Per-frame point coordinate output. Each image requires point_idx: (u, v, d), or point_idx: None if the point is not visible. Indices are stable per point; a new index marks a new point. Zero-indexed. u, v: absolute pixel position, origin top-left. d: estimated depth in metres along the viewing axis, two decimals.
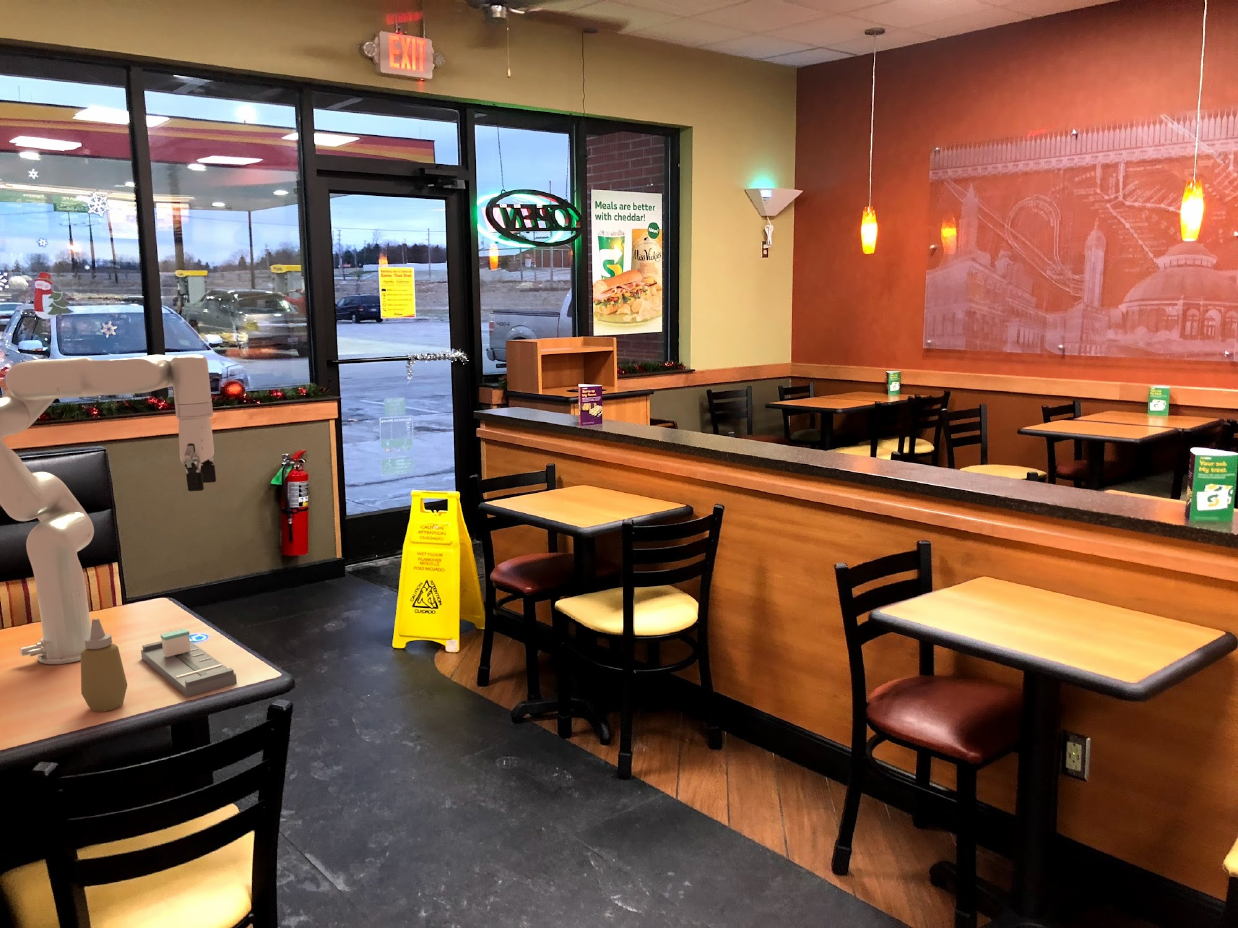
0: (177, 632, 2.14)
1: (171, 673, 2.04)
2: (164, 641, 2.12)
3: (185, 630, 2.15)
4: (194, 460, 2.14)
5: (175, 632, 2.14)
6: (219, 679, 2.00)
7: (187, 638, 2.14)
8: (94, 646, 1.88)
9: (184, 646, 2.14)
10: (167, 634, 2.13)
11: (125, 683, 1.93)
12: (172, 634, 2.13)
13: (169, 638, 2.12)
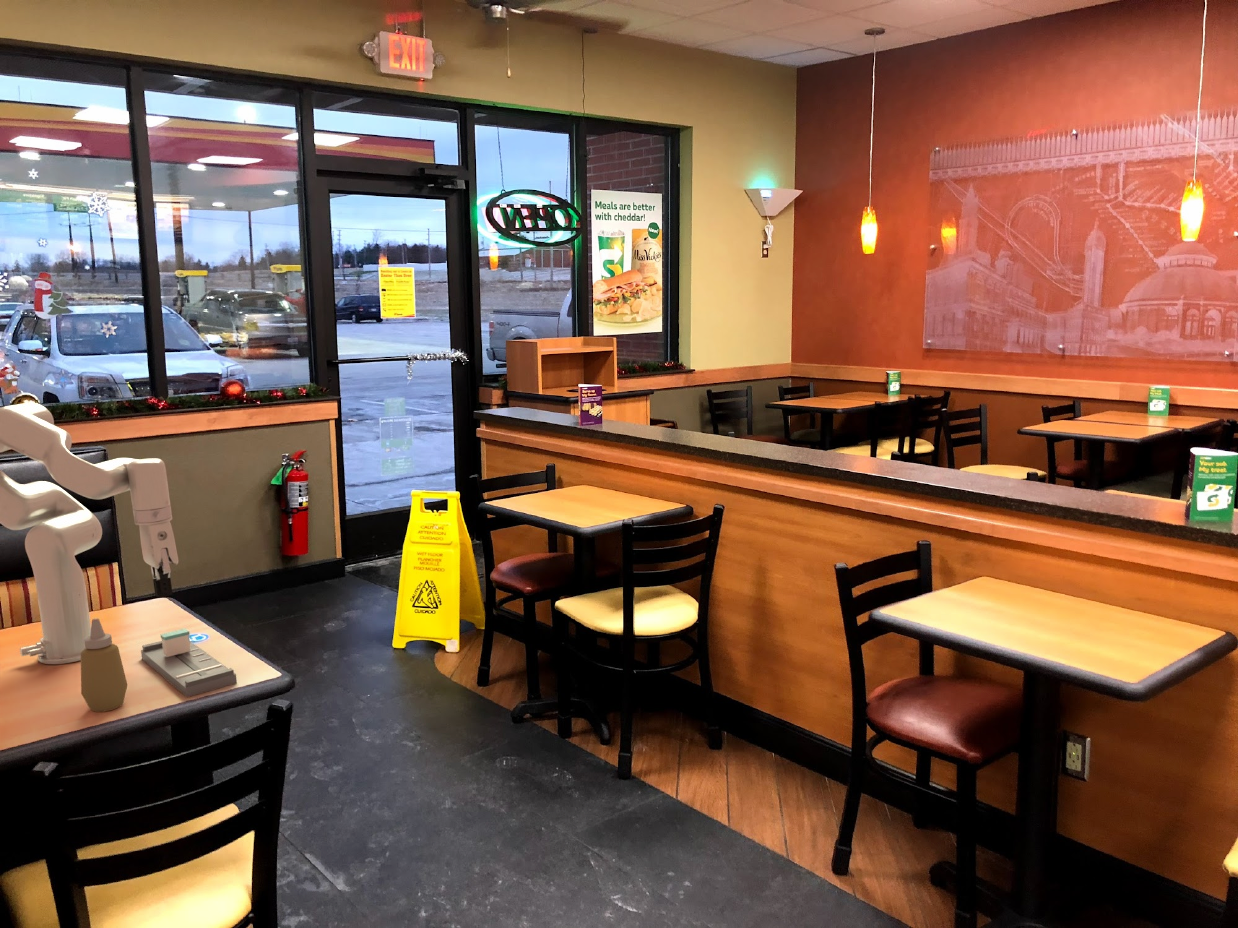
0: (177, 632, 2.14)
1: (171, 673, 2.04)
2: (164, 641, 2.12)
3: (185, 630, 2.15)
4: None
5: (175, 632, 2.14)
6: (219, 679, 2.00)
7: (187, 638, 2.14)
8: (94, 646, 1.88)
9: (184, 646, 2.14)
10: (167, 634, 2.13)
11: (125, 683, 1.93)
12: (172, 634, 2.13)
13: (169, 638, 2.12)
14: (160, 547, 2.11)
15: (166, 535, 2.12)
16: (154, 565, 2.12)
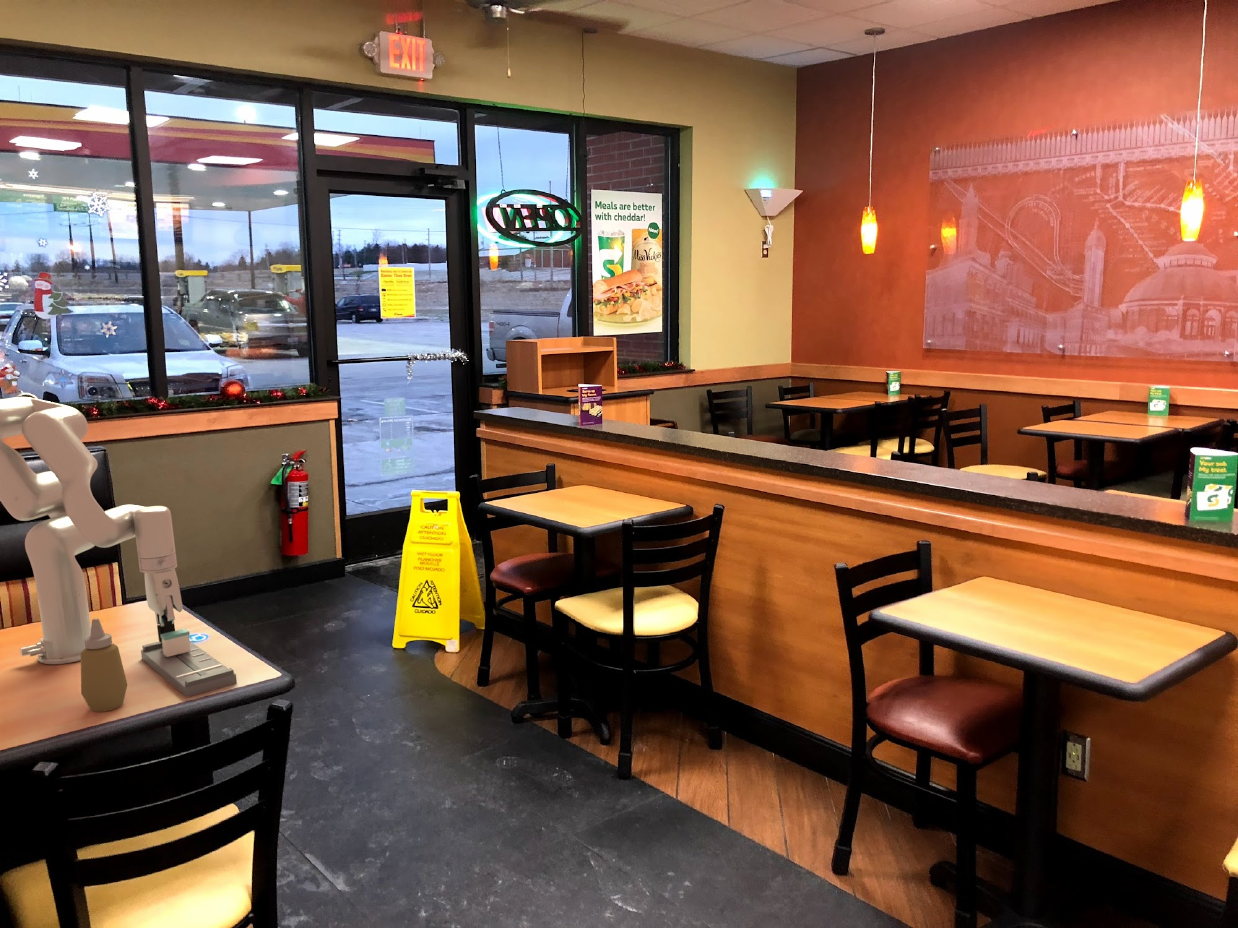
0: (177, 632, 2.14)
1: (171, 673, 2.04)
2: (164, 641, 2.12)
3: (185, 630, 2.15)
4: None
5: (175, 632, 2.14)
6: (219, 679, 2.00)
7: (187, 638, 2.14)
8: (94, 646, 1.88)
9: (184, 646, 2.14)
10: (167, 634, 2.13)
11: (125, 683, 1.93)
12: (172, 634, 2.13)
13: (169, 638, 2.12)
14: (165, 595, 2.13)
15: (171, 583, 2.14)
16: (158, 612, 2.14)
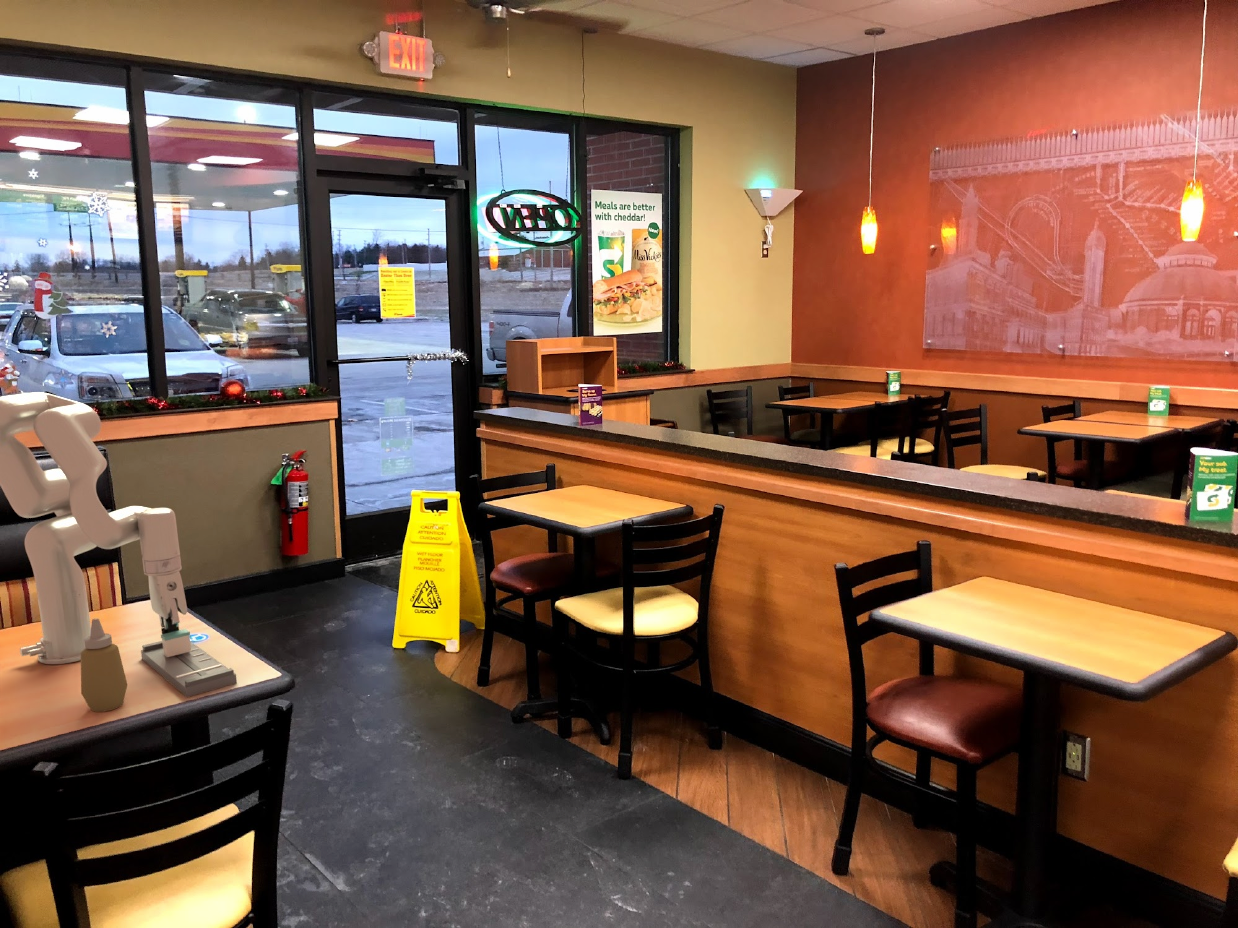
0: (178, 632, 2.14)
1: (171, 673, 2.04)
2: (164, 641, 2.12)
3: (185, 630, 2.15)
4: None
5: (175, 632, 2.14)
6: (219, 679, 2.00)
7: (187, 638, 2.14)
8: (94, 646, 1.88)
9: (185, 646, 2.14)
10: (167, 634, 2.13)
11: (125, 683, 1.93)
12: (172, 634, 2.13)
13: (170, 639, 2.12)
14: (169, 598, 2.11)
15: (175, 585, 2.12)
16: (163, 615, 2.12)
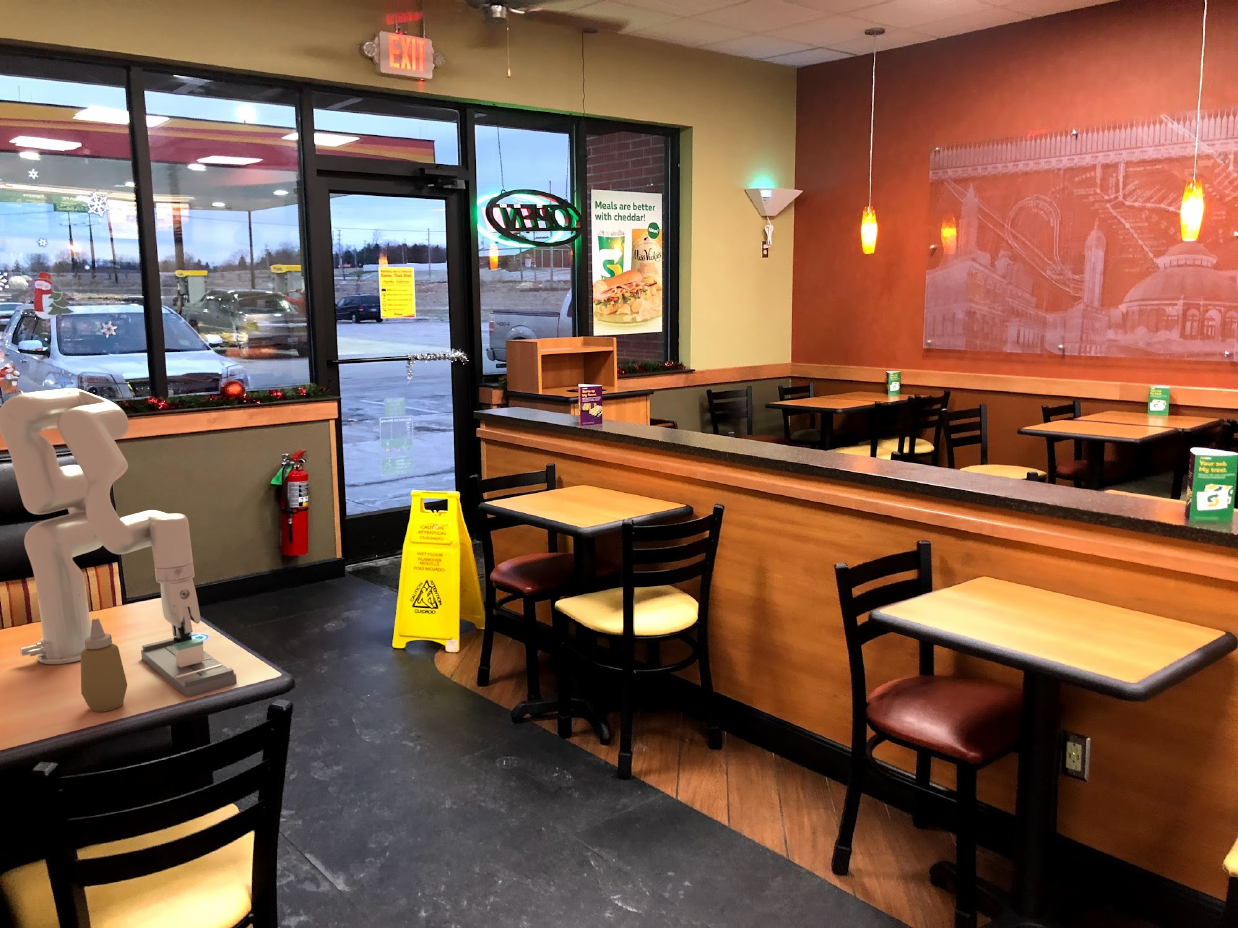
0: (191, 641, 2.08)
1: (171, 673, 2.04)
2: (177, 651, 2.05)
3: (199, 640, 2.09)
4: None
5: (188, 642, 2.08)
6: (219, 679, 2.00)
7: (201, 648, 2.08)
8: (94, 646, 1.88)
9: (198, 656, 2.08)
10: (180, 644, 2.06)
11: (125, 683, 1.93)
12: (185, 644, 2.06)
13: (183, 648, 2.06)
14: (182, 606, 2.05)
15: (188, 593, 2.06)
16: (175, 624, 2.05)
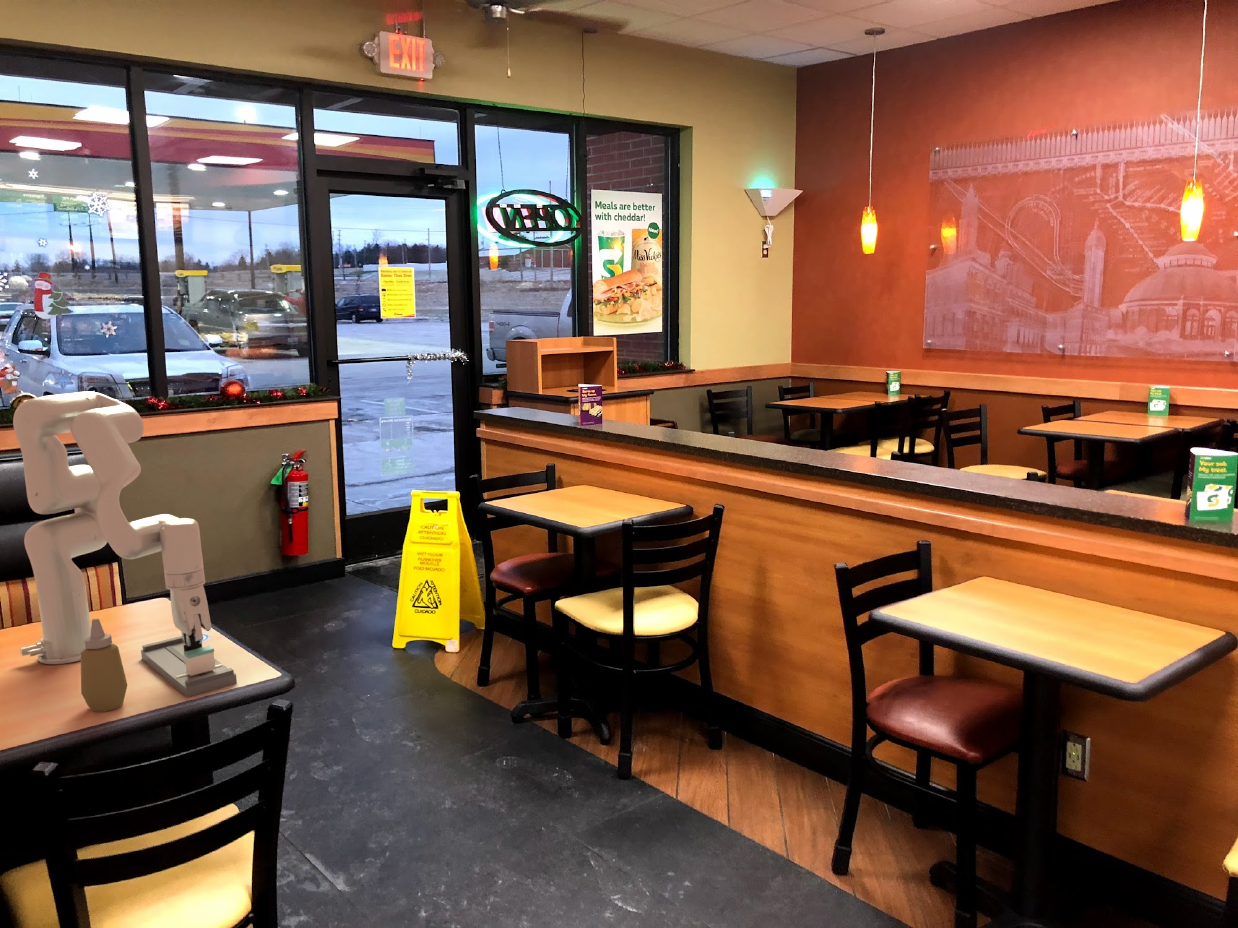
0: (201, 649, 2.03)
1: (171, 673, 2.04)
2: (188, 659, 2.01)
3: (209, 647, 2.04)
4: None
5: (199, 649, 2.03)
6: (219, 679, 2.00)
7: (212, 656, 2.03)
8: (94, 646, 1.88)
9: (209, 664, 2.03)
10: (191, 652, 2.02)
11: (125, 683, 1.93)
12: (196, 652, 2.01)
13: (193, 656, 2.01)
14: (193, 613, 2.00)
15: (199, 600, 2.01)
16: (186, 632, 2.01)
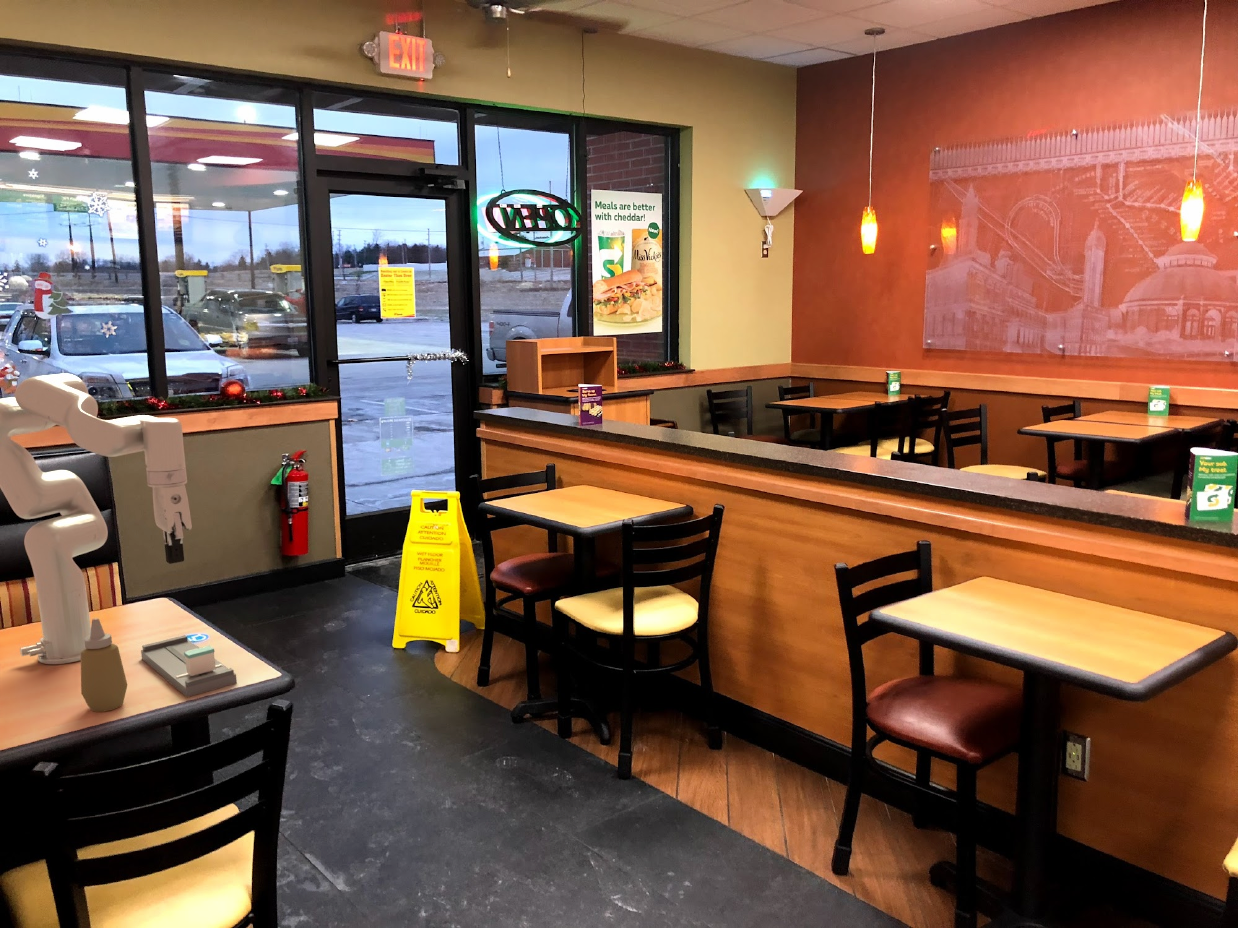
0: (201, 649, 2.03)
1: (171, 673, 2.04)
2: (188, 659, 2.00)
3: (210, 647, 2.04)
4: None
5: (199, 650, 2.03)
6: (219, 679, 2.00)
7: (212, 656, 2.03)
8: (94, 646, 1.88)
9: (209, 664, 2.03)
10: (191, 652, 2.01)
11: (125, 683, 1.93)
12: (196, 652, 2.01)
13: (194, 657, 2.01)
14: (173, 511, 2.02)
15: (180, 499, 2.03)
16: (166, 529, 2.02)
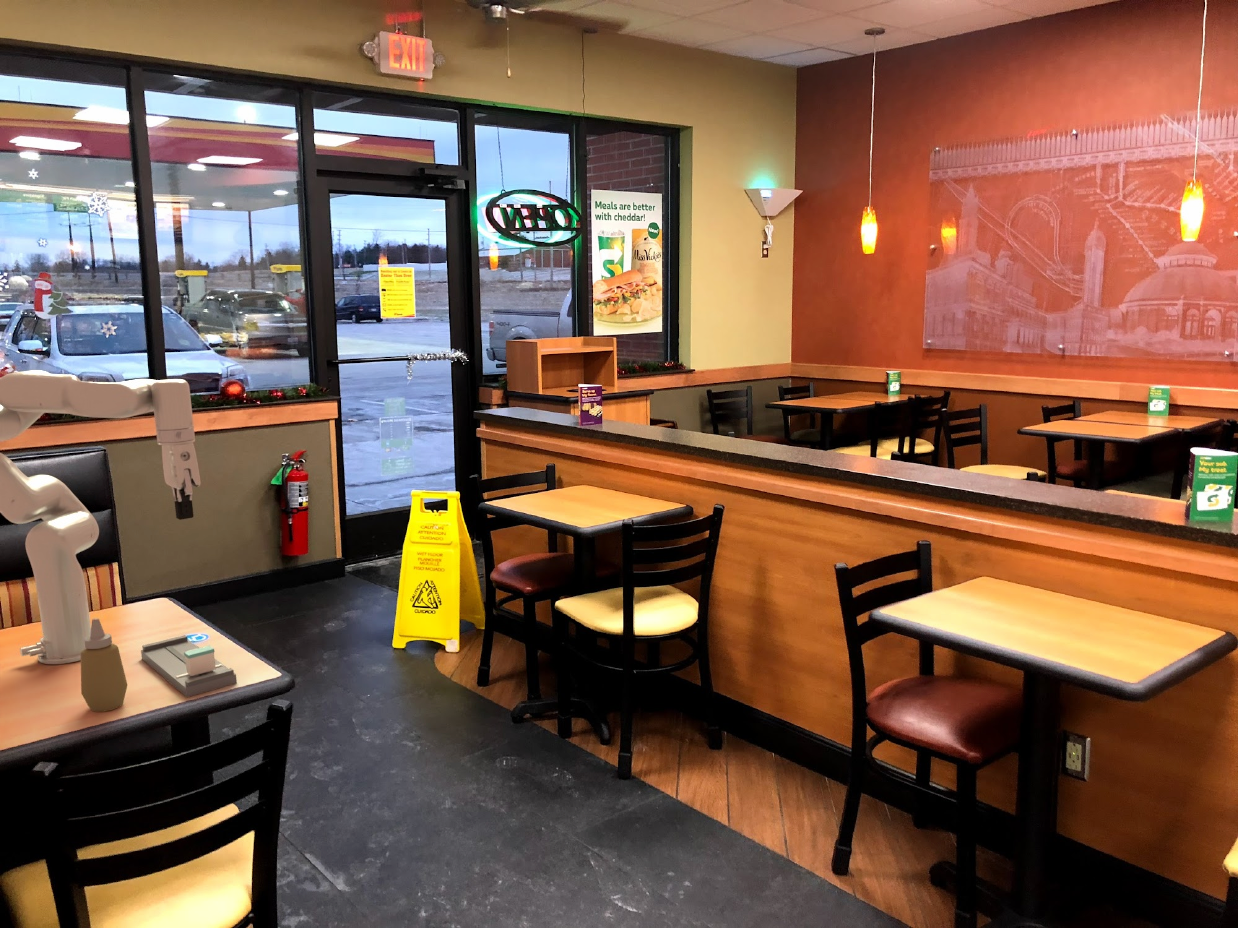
0: (201, 649, 2.03)
1: (171, 673, 2.04)
2: (188, 659, 2.00)
3: (210, 647, 2.04)
4: None
5: (199, 650, 2.03)
6: (219, 679, 2.00)
7: (212, 656, 2.03)
8: (94, 646, 1.88)
9: (209, 664, 2.03)
10: (191, 652, 2.01)
11: (125, 683, 1.93)
12: (196, 652, 2.01)
13: (194, 657, 2.01)
14: (183, 467, 2.10)
15: (189, 456, 2.11)
16: (176, 486, 2.11)
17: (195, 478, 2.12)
